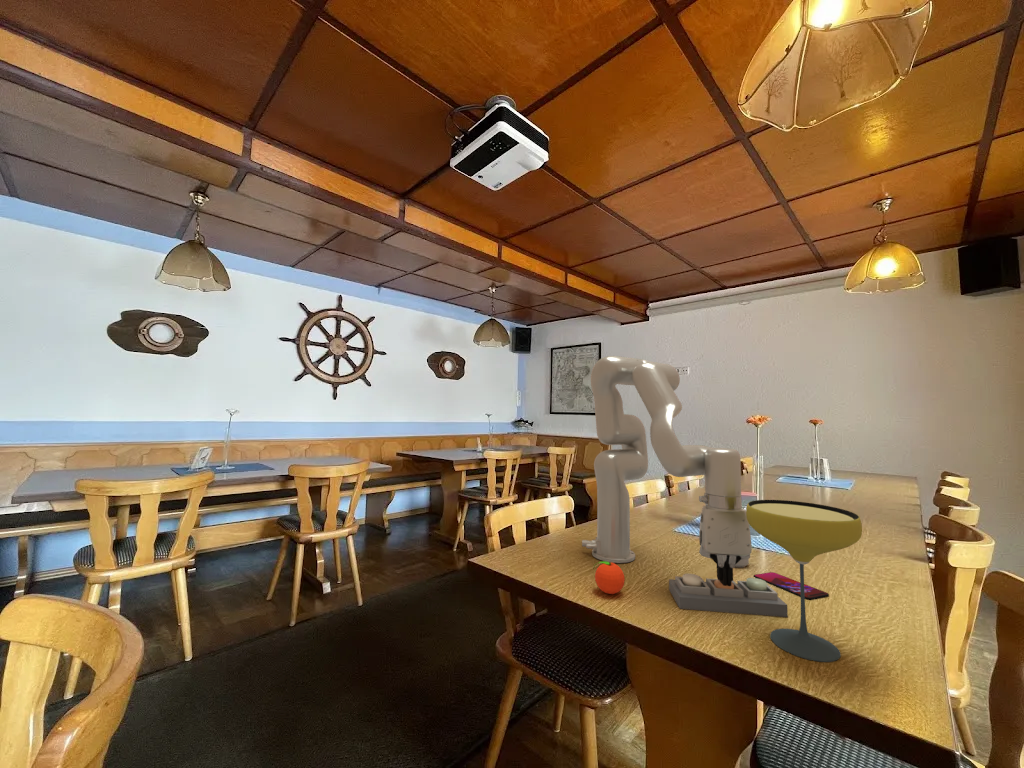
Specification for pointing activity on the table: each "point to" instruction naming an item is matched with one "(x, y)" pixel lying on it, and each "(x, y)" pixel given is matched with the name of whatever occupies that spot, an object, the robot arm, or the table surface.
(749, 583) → the sage button
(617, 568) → the clementine
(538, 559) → the table surface
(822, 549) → the cocktail glass
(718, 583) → the terracotta button
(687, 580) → the cream button
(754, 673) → the table surface
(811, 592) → the smartphone
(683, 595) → the button panel
